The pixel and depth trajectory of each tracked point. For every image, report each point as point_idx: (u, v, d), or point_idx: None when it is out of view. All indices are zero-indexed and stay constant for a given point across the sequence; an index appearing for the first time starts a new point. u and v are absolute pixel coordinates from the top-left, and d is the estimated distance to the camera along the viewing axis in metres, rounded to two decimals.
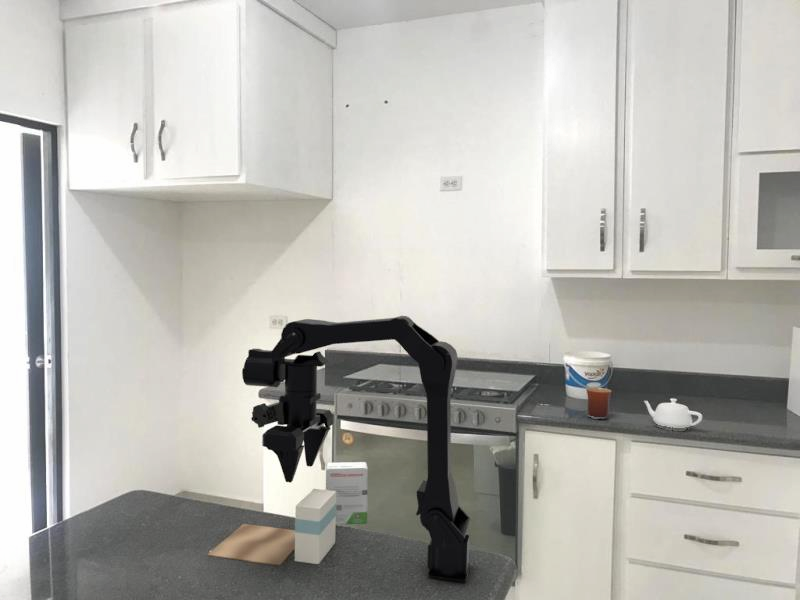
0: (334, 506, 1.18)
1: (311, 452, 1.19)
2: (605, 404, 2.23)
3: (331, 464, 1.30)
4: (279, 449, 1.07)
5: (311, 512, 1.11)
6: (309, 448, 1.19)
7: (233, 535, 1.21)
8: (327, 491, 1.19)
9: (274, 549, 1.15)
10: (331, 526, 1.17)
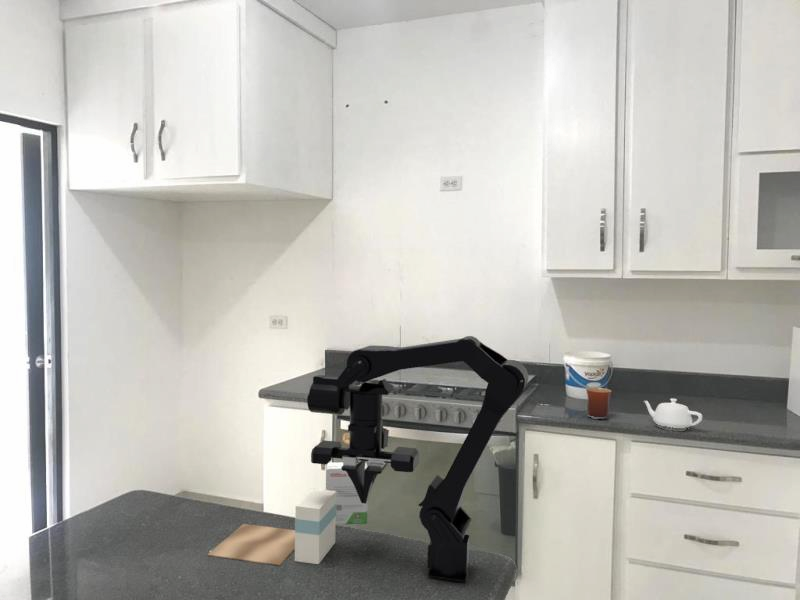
0: (334, 506, 1.18)
1: None
2: (605, 404, 2.23)
3: (331, 464, 1.30)
4: None
5: (311, 512, 1.11)
6: None
7: (233, 535, 1.21)
8: (327, 491, 1.19)
9: (274, 549, 1.15)
10: (331, 526, 1.17)
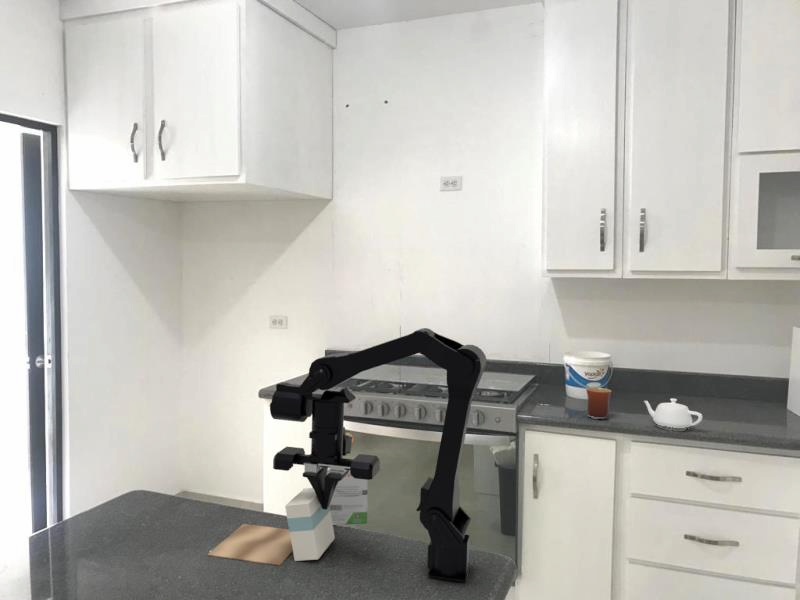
0: None
1: None
2: (605, 404, 2.23)
3: None
4: None
5: (301, 508, 1.11)
6: None
7: (233, 535, 1.21)
8: None
9: (274, 549, 1.15)
10: (326, 521, 1.17)
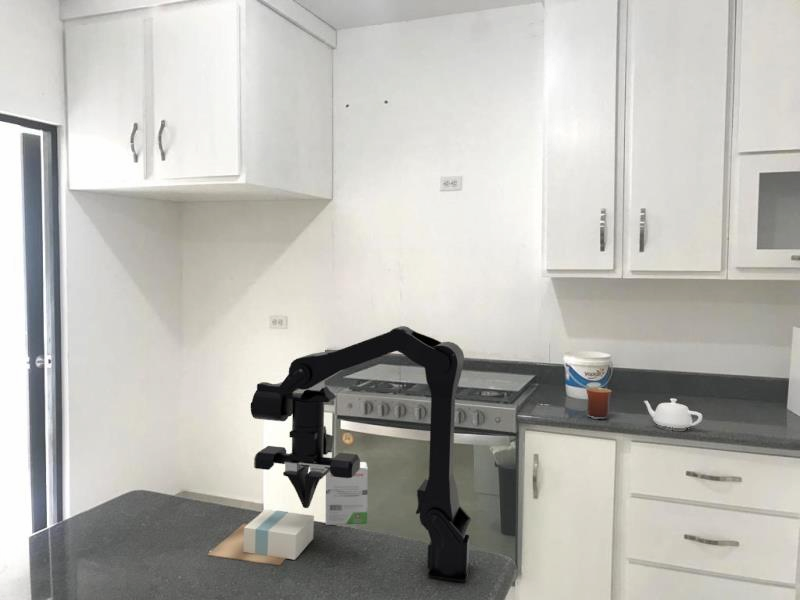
0: (277, 512, 1.21)
1: None
2: (605, 404, 2.23)
3: None
4: None
5: (248, 536, 1.14)
6: None
7: (233, 535, 1.21)
8: None
9: None
10: (288, 517, 1.19)
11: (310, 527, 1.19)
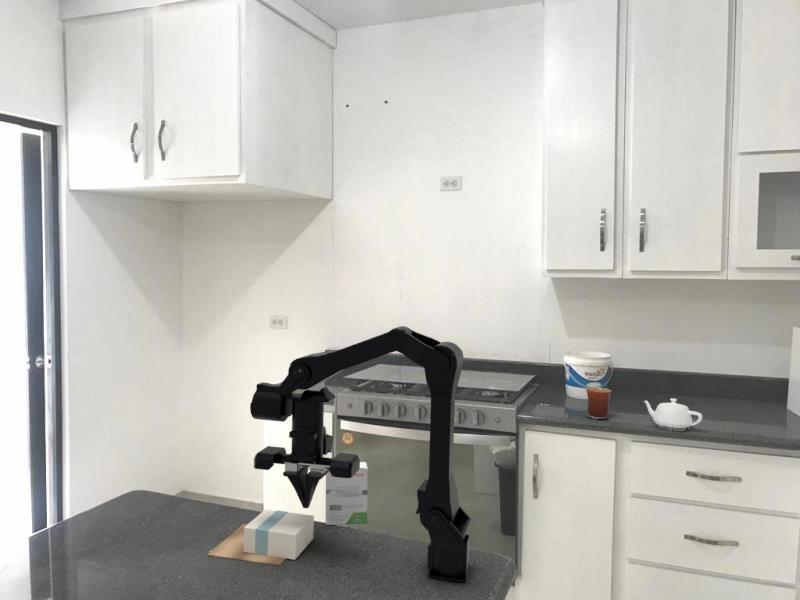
0: (277, 512, 1.21)
1: None
2: (605, 404, 2.23)
3: None
4: None
5: (248, 536, 1.14)
6: None
7: (233, 535, 1.21)
8: None
9: None
10: (288, 517, 1.19)
11: (310, 527, 1.19)
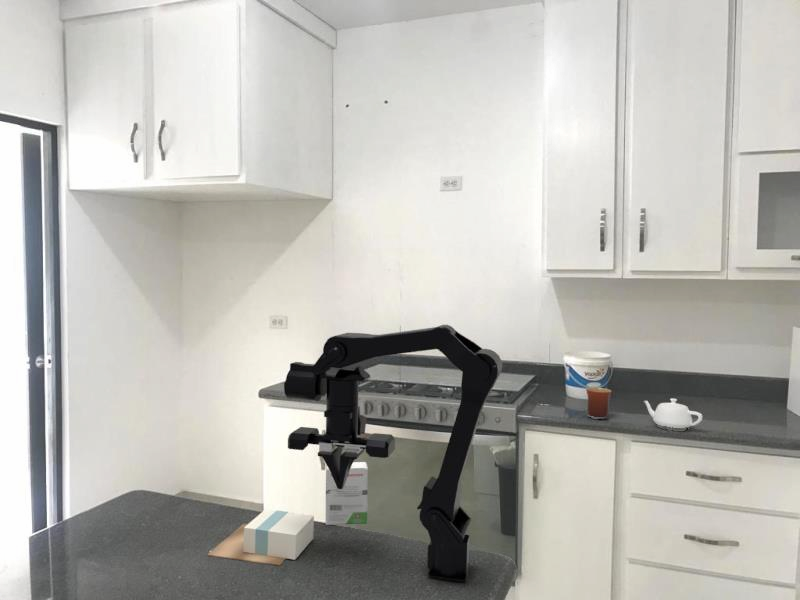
0: (277, 512, 1.21)
1: None
2: (605, 404, 2.23)
3: None
4: None
5: (248, 536, 1.14)
6: None
7: (233, 535, 1.21)
8: None
9: None
10: (288, 517, 1.19)
11: (310, 527, 1.19)
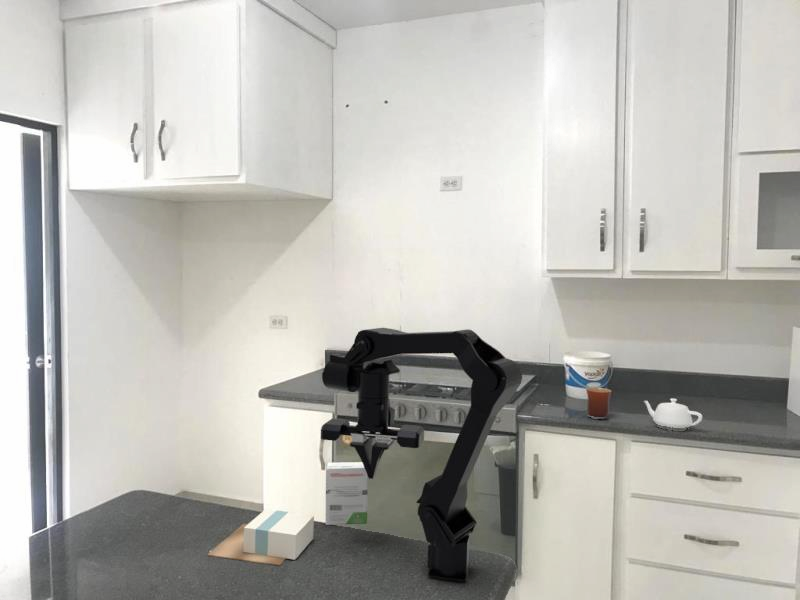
0: (277, 512, 1.21)
1: None
2: (605, 404, 2.23)
3: (331, 464, 1.30)
4: None
5: (248, 536, 1.14)
6: None
7: (233, 535, 1.21)
8: None
9: None
10: (288, 517, 1.19)
11: (310, 527, 1.19)
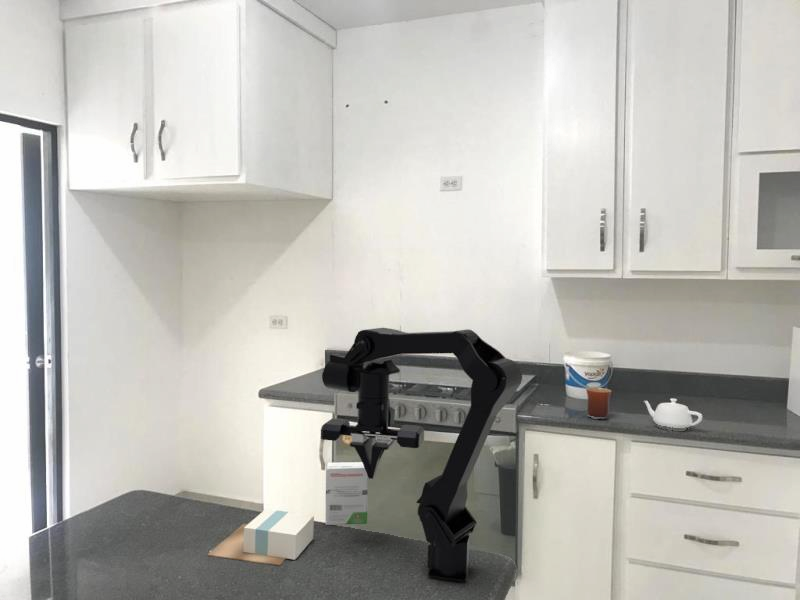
0: (277, 512, 1.21)
1: None
2: (605, 404, 2.23)
3: (331, 464, 1.30)
4: None
5: (248, 536, 1.14)
6: None
7: (233, 535, 1.21)
8: None
9: None
10: (288, 517, 1.19)
11: (310, 527, 1.19)
